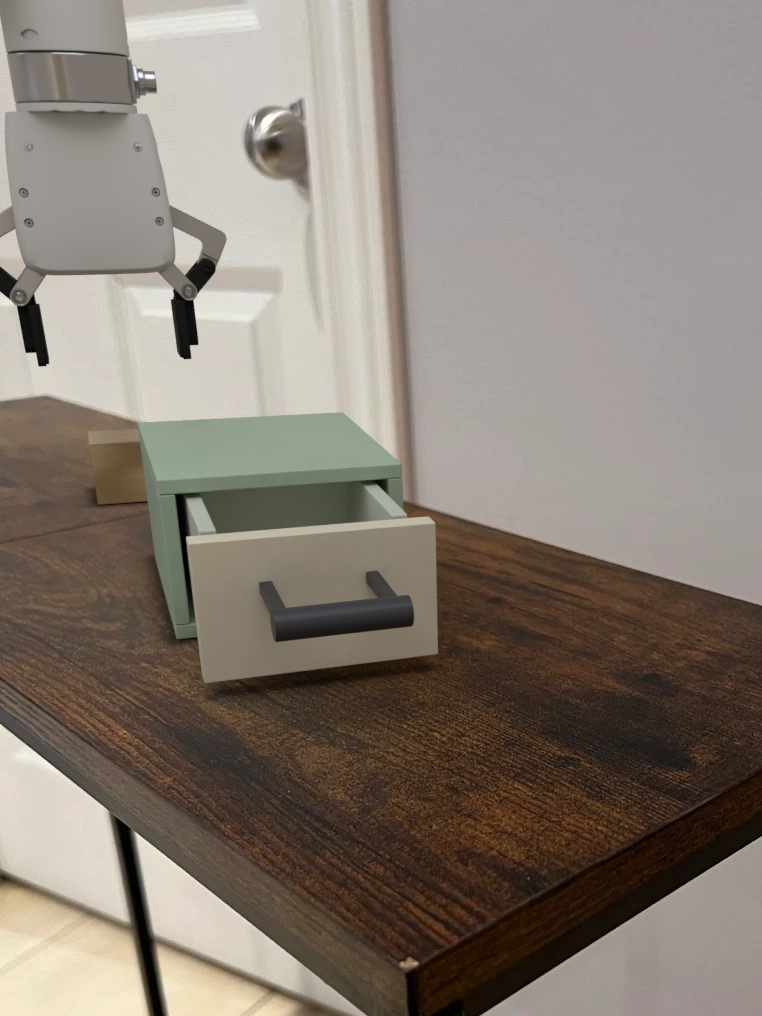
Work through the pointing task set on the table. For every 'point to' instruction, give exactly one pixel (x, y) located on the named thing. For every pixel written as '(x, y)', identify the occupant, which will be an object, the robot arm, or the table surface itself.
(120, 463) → the block
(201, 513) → the drawer
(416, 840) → the table surface
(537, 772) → the table surface
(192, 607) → the cabinet
